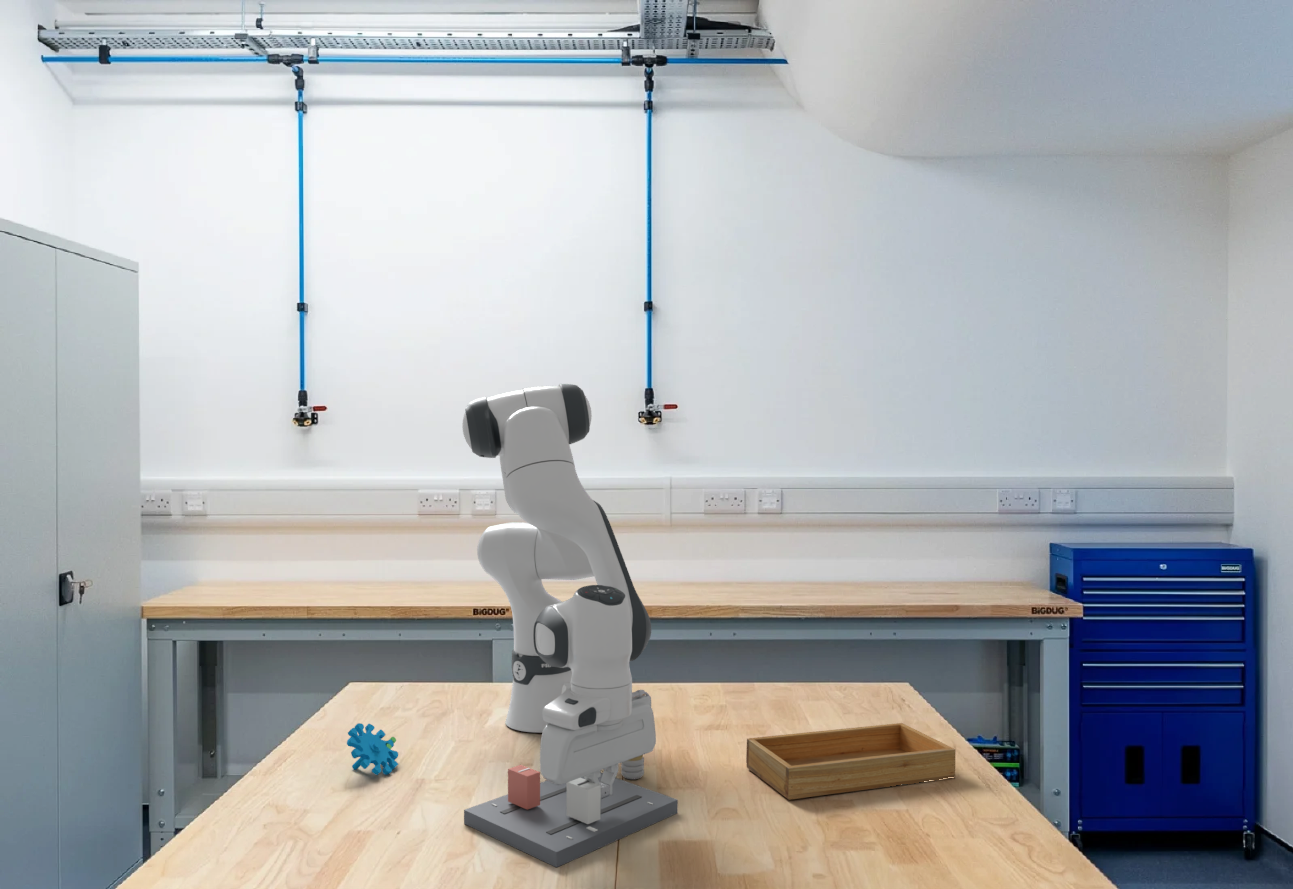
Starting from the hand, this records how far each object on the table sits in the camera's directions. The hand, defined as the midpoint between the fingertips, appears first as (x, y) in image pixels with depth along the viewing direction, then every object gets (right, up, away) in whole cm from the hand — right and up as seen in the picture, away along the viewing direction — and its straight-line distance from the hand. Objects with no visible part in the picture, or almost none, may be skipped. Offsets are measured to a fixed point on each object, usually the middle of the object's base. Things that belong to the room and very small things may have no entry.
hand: (601, 797), depth 134 cm
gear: (-39, -4, +23) cm, 45 cm away
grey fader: (-2, -2, -2) cm, 4 cm away
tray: (+40, -5, +21) cm, 46 cm away
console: (-4, -4, +3) cm, 7 cm away
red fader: (-11, -2, +3) cm, 12 cm away
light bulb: (+4, -4, +19) cm, 20 cm away
